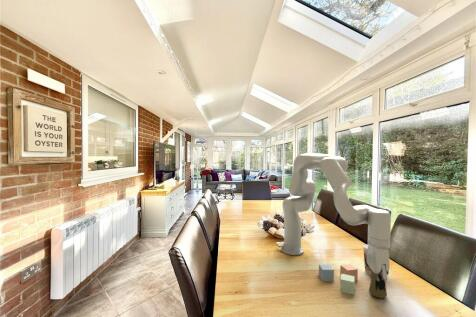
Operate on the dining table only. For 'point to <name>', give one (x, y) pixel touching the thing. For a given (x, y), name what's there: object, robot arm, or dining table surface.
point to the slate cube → (326, 272)
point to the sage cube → (347, 283)
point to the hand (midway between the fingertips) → (377, 286)
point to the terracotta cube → (349, 271)
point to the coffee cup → (367, 268)
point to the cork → (373, 289)
